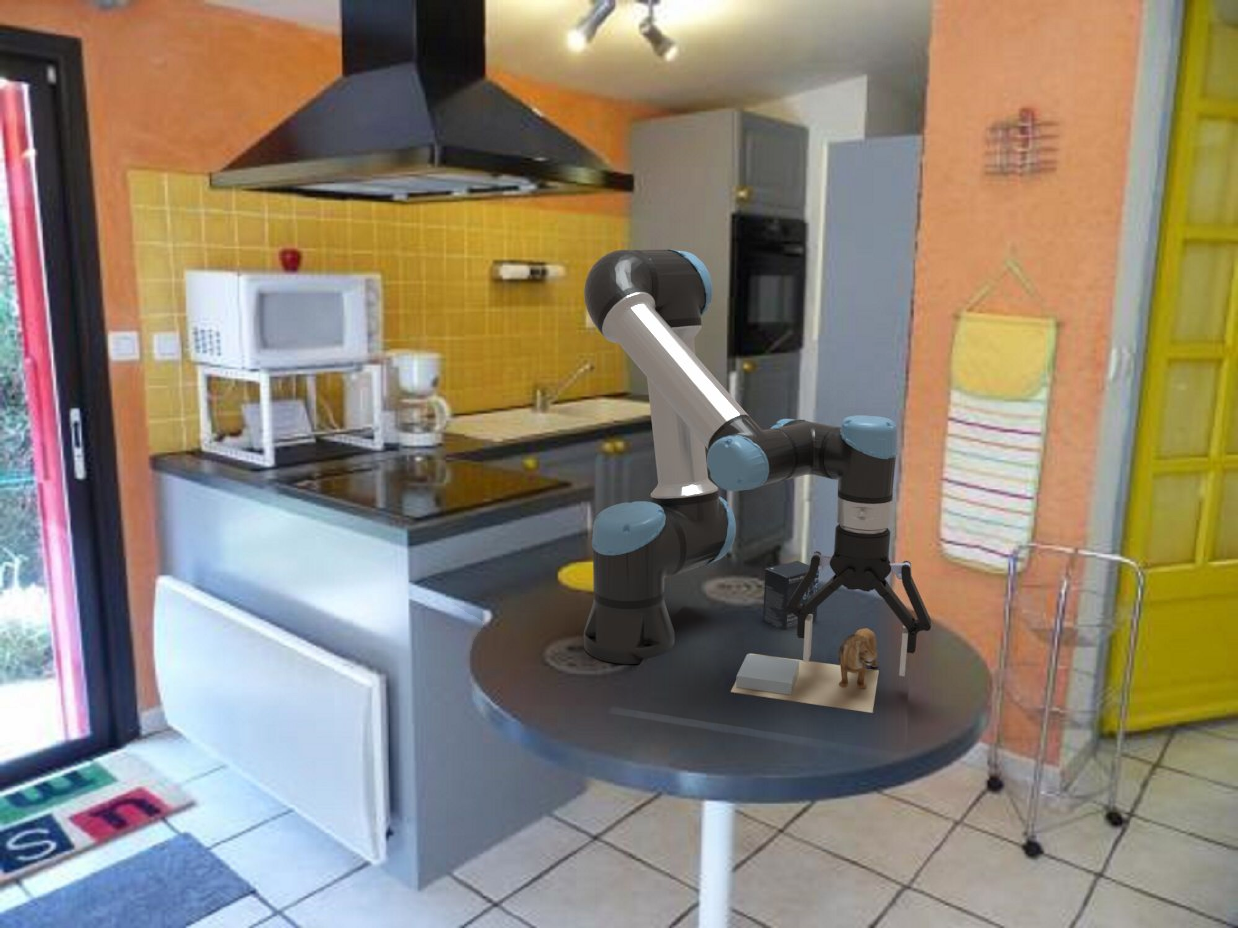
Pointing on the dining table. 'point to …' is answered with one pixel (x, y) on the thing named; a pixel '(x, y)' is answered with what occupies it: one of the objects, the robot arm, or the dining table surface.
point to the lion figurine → (857, 656)
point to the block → (768, 674)
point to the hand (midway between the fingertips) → (853, 665)
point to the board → (825, 687)
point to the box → (785, 593)
